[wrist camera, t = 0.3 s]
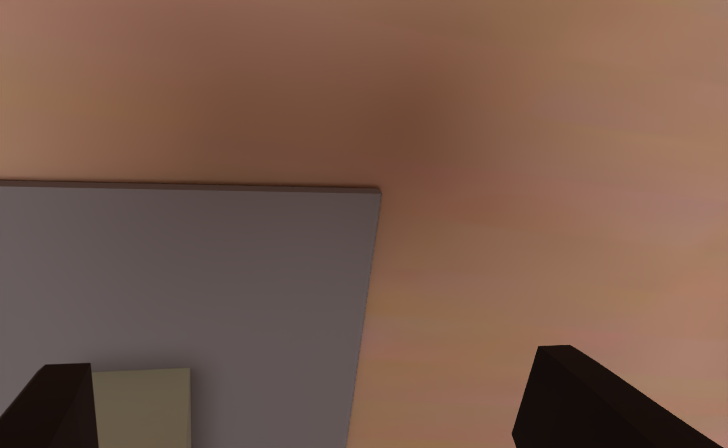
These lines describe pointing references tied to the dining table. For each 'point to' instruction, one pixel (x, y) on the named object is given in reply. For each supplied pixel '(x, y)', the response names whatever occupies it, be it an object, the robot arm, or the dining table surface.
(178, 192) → the mat
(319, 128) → the dining table surface
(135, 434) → the beige brick
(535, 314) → the dining table surface
